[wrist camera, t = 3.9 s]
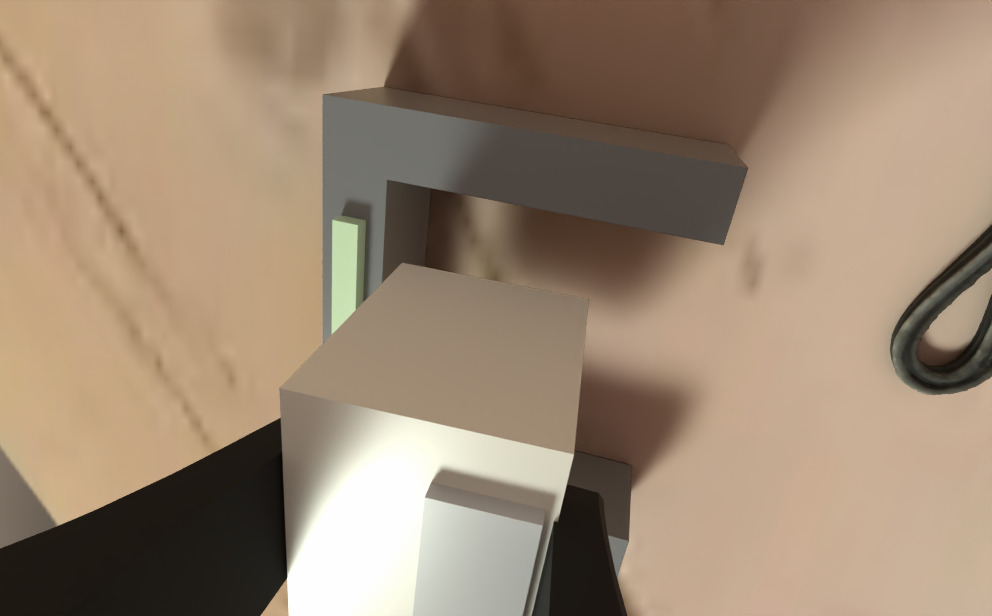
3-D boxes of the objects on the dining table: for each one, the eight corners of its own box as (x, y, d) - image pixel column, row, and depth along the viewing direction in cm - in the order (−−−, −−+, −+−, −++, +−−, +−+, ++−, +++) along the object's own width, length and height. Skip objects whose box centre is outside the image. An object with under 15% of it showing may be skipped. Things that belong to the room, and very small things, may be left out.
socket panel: (728, 144, 13) (751, 171, 10) (565, 687, 22) (552, 788, 19) (382, 87, 14) (312, 95, 11) (360, 620, 23) (317, 704, 20)
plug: (588, 299, 12) (572, 470, 7) (547, 483, 14) (513, 710, 9) (401, 262, 12) (267, 400, 7) (390, 447, 14) (280, 645, 10)
